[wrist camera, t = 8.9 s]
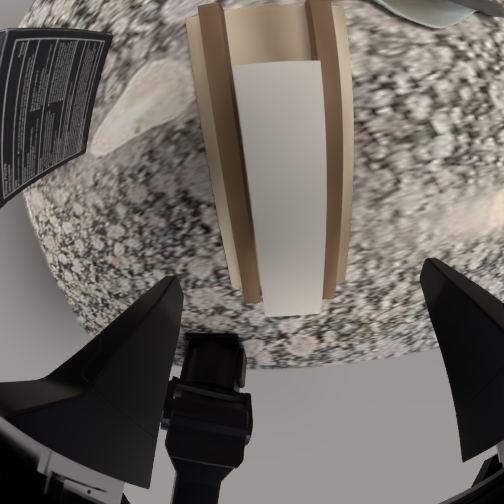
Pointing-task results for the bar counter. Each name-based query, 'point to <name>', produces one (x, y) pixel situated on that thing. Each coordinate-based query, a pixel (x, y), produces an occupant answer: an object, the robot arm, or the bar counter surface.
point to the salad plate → (440, 10)
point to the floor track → (229, 127)
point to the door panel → (286, 179)
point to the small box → (45, 100)
